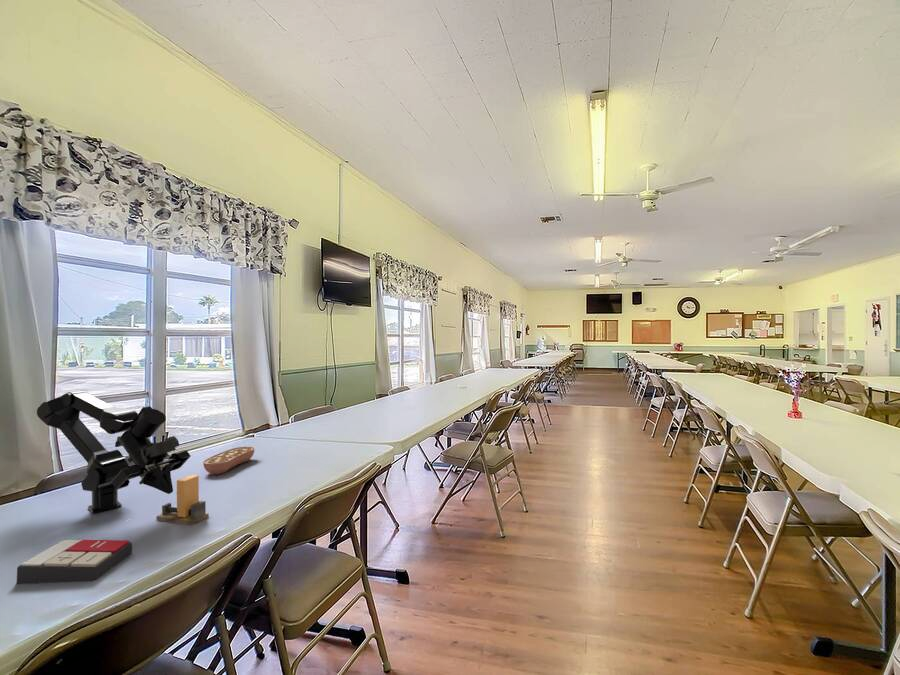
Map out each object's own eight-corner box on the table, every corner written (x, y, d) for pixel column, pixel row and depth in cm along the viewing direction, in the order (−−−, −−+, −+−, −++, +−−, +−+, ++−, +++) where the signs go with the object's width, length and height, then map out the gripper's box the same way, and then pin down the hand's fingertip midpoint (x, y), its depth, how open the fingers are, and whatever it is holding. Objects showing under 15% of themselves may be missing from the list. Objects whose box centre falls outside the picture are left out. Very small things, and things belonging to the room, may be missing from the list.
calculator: (95, 564, 84) (15, 563, 83) (94, 586, 84) (14, 585, 83) (133, 538, 95) (63, 536, 94) (132, 557, 95) (62, 556, 94)
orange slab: (177, 516, 111) (176, 480, 111) (191, 510, 115) (191, 474, 115) (184, 517, 110) (184, 481, 110) (198, 510, 114) (198, 475, 114)
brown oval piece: (221, 478, 145) (221, 464, 145) (195, 477, 146) (195, 463, 146) (259, 459, 168) (259, 446, 168) (236, 458, 169) (236, 446, 169)
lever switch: (156, 519, 112) (156, 502, 112) (173, 512, 117) (173, 495, 117) (192, 525, 109) (192, 507, 109) (208, 517, 114) (208, 500, 114)
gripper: (121, 437, 106) (155, 485, 103) (185, 422, 124) (216, 463, 121) (98, 465, 108) (130, 513, 106) (164, 446, 126) (193, 487, 124)
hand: (170, 492), depth 114 cm, fingers closed
